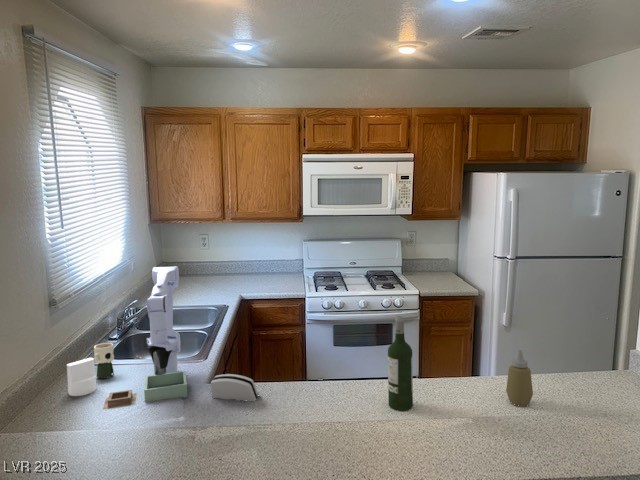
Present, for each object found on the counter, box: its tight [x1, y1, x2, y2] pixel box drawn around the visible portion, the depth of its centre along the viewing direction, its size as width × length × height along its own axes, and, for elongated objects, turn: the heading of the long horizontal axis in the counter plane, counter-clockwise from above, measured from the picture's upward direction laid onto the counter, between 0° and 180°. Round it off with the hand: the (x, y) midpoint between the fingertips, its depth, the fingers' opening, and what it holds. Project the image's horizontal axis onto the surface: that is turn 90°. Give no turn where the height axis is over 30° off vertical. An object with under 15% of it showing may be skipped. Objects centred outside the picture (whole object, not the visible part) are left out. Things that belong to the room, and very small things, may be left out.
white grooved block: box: [66, 357, 97, 397], centre depth 164 cm, size 9×9×12 cm
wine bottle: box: [387, 315, 414, 412], centre depth 147 cm, size 8×8×30 cm
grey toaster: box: [210, 373, 260, 402], centre depth 157 cm, size 17×5×10 cm, turn 75°
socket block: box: [102, 389, 138, 410], centre depth 155 cm, size 10×10×3 cm
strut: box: [153, 351, 166, 375], centre depth 161 cm, size 4×4×8 cm
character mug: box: [93, 342, 115, 379], centre depth 180 cm, size 11×7×13 cm, turn 172°
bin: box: [143, 370, 188, 403], centre depth 163 cm, size 14×14×5 cm
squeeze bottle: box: [505, 349, 534, 407], centre depth 147 cm, size 8×8×18 cm
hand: (160, 366), depth 161 cm, fingers closed on strut, 4 cm apart
